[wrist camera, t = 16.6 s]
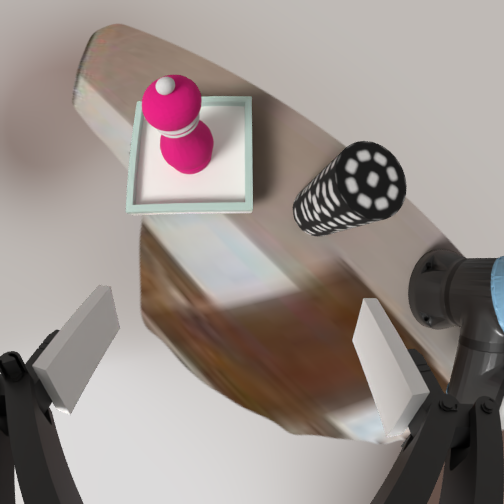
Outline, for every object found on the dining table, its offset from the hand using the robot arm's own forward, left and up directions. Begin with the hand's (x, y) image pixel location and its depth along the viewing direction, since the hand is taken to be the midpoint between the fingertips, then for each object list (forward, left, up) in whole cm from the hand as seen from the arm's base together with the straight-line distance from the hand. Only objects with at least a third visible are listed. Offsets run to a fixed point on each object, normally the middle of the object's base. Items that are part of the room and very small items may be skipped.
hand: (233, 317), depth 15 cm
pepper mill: (+6, -18, -27) cm, 33 cm away
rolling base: (+6, -19, -32) cm, 37 cm away
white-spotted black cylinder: (-14, -11, -32) cm, 36 cm away
